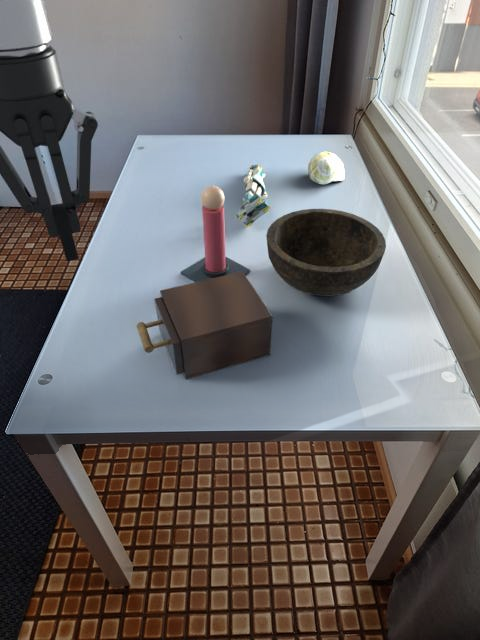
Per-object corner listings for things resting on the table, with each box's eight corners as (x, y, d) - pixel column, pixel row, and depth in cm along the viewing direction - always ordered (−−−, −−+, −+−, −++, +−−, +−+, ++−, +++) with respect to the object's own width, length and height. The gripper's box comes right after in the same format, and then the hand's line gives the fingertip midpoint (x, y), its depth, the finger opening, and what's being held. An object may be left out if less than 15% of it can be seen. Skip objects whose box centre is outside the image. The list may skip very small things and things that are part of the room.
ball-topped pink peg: (207, 280, 93) (202, 196, 81) (199, 266, 96) (193, 183, 84) (232, 274, 94) (231, 191, 82) (223, 260, 98) (221, 178, 86)
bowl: (343, 242, 104) (350, 201, 97) (397, 303, 89) (410, 258, 82) (249, 261, 99) (250, 218, 92) (290, 328, 83) (294, 282, 77)
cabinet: (185, 379, 75) (181, 340, 69) (165, 328, 83) (159, 290, 78) (270, 355, 79) (272, 316, 73) (242, 309, 87) (242, 271, 82)
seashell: (342, 167, 131) (350, 141, 122) (342, 196, 128) (351, 172, 119) (305, 164, 131) (311, 138, 122) (304, 193, 128) (310, 169, 119)
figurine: (254, 192, 101) (260, 146, 125) (228, 216, 105) (238, 167, 129) (276, 215, 104) (277, 166, 128) (250, 237, 108) (256, 186, 132)
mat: (180, 273, 95) (180, 271, 95) (215, 253, 101) (215, 251, 101) (215, 294, 90) (215, 292, 90) (250, 272, 96) (250, 269, 95)
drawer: (152, 382, 73) (146, 351, 68) (136, 334, 81) (130, 304, 76) (256, 352, 78) (257, 321, 73) (231, 310, 86) (231, 280, 81)
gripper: (78, 34, 50) (117, 230, 65) (-60, 44, 46) (16, 249, 62) (88, 50, 44) (128, 259, 60) (-66, 63, 41) (19, 282, 56)
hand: (71, 254), depth 61 cm, fingers closed
